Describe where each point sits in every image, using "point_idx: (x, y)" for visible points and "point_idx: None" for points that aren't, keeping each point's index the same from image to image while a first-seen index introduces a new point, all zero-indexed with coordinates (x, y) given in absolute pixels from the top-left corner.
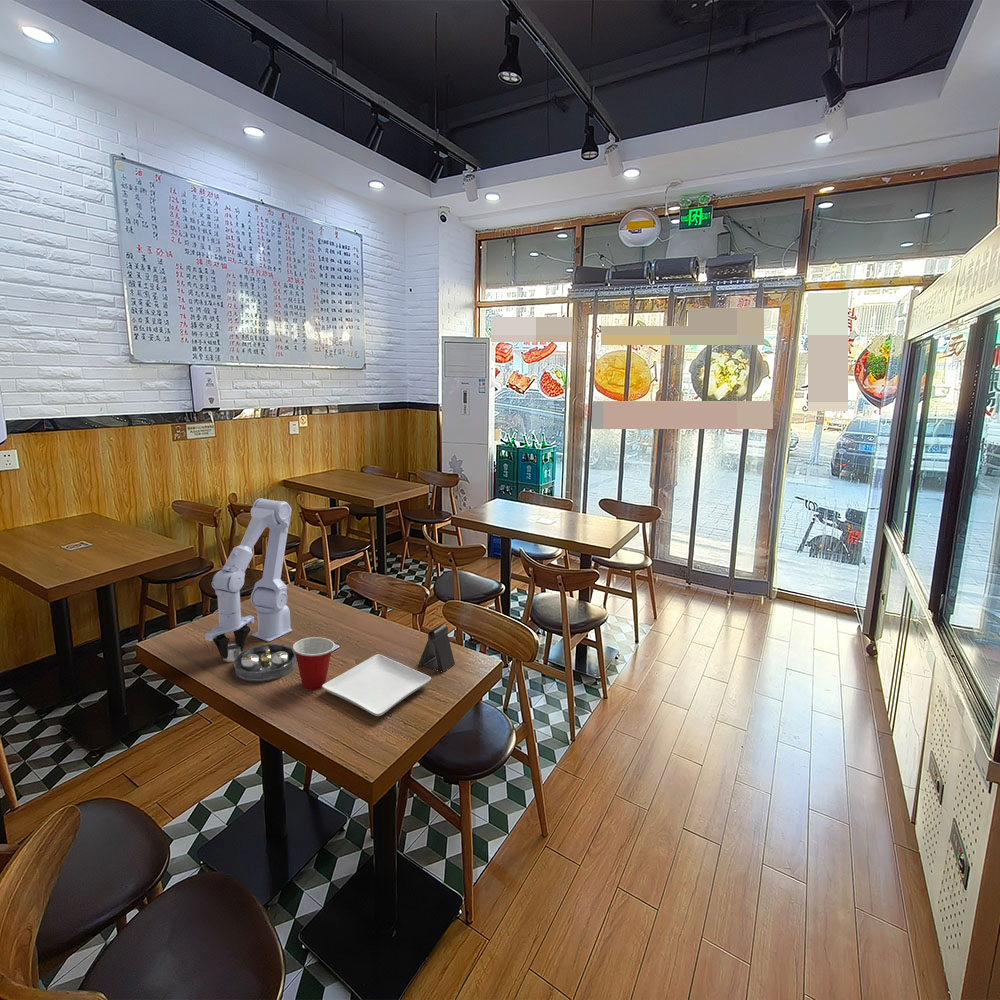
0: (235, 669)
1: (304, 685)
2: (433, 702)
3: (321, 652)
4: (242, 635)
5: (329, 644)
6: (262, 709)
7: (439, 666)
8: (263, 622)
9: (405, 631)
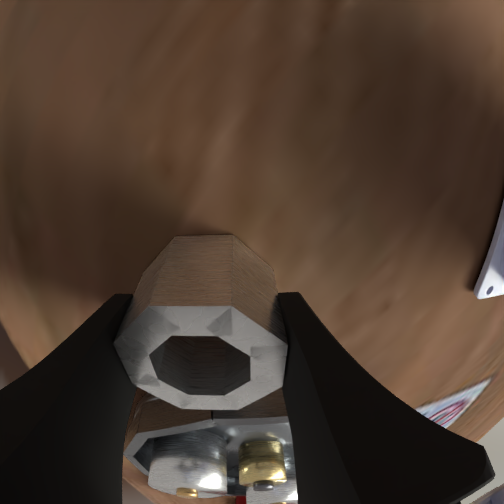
0: (130, 428)
1: (236, 498)
2: None
3: None
4: (299, 499)
5: None
6: (133, 477)
7: None
8: None
9: (496, 421)
